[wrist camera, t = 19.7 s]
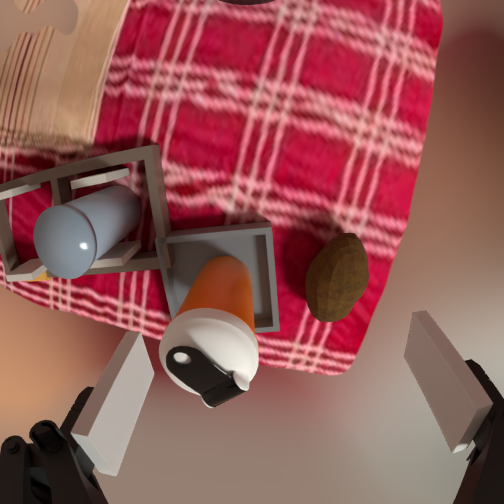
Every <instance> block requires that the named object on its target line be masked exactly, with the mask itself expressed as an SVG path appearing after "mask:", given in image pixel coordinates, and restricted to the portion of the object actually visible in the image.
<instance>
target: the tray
mask: <svg viewBox="0 0 504 504" xmlns="http://www.w3.org/2000/svg"><path fill="white" fill-rule="evenodd" d="M154 239H155V244H156V250H157V255H158V260H159V265H160V270H161V274H162V279H163V284H164V288H165V293H166V297H167V302H168V306H169V310H170V314H171V319H173V318H174V317H175V316H176V314H177V312H178V310H179V308H180V307H181V305H182V303H183V301H184V299H185V297H186V296H187V294H188V292H189V290H190V288H191V287H192V285H193V283H194V281H195V279H196V277H197V276H198V274H199V272H200V270H201V269H202V267H203V266H204V264H205V263H206V262H207V261H209V260H211V259H212V258H215V257H219V256H229V257H233V258H236V259H238V260H239V261H241V262H242V263H243V264H244V265H245V266H246V267H247V269H248V270H249V273H250V275H251V283H252V297H253V311H254V325H255V333H261V332H273V331H280V329H279V315H278V301H277V287H276V274H275V261H274V249H273V237H272V226H271V221H267V222H256V223H245V224H234V225H224V226H214V227H204V228H194V229H185V230H175V231H171V232H170V233H169V234H168V235H167V236H166V239H165V240H166V241H165V240H164V239H163V240H164V241H165V242H166V244H167V243H172V247H173V252H174V258H175V263H174V265H173V266H172V268H166V265H165V264H164V263H165V262H164V257H163V256H164V255H163V252H162V251H163V250H161V249H162V244H165V242H164V243H163V242H162V241H163V240H162V238H161V239H160V238H158V239H159V240H158V239H157V238H154ZM160 240H162V241H161V242H160ZM159 242H160V244H158V243H159ZM159 245H161V246H160V247H159ZM158 247H159V248H158ZM160 250H161V251H160ZM161 253H162V254H161ZM162 255H163V256H162ZM160 258H161V259H160ZM161 262H162V263H163V264H162V263H161ZM163 267H165V268H163Z"/></svg>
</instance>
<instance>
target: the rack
mask: <svg viewBox="0 0 504 504" xmlns="http://www.w3.org/2000/svg"><path fill="white" fill-rule="evenodd" d="M140 160H144V162H145V169H146V176H147V183H148V190H149V196H150V203H151V209H152V215H153V221H154V227H155V232H156V238H157V239H158V238H160V239H161V238H162V240H163V239H164V240H165V239H166V236H167V235H168V234H169V233H170V232H171V225H170V219H169V212H168V206H167V199H166V193H165V186H164V179H163V171H162V164H161V156H160V148H159V145H149V146H144V147H139V148H134V149H129V150H124V151H119V152H114V153H110V154H105V155H101V156H97V157H93V158H88V159H84V160H80V161H76V162H73V163H69V164H65V165H61V166H58V167H54V168H51V169H47V170H44V171H40V172H37V173H34V174H30V175H27V176H24V177H21V178H18V179H15V180H11V181H8V182H6V183H3V184H0V253H1V257H2V260H3V264H4V267H5V270H6V274H7V275H6V278H7V281H8V282H10V281H43V280H50V279H51V278H52V277H58V276H56V275H54V274H53V273H51V272H50V271H49V270H48V269H47V268H46V267H45V266H44V265H43V263H42V262H41V260H40V258H37V259H30V260H28V261H27V262H25V263H24V264H20V262H19V259H18V255H17V252H16V248H15V244H14V240H13V236H12V232H11V228H10V223H9V219H8V214H7V209H6V204H5V199H6V198H9V197H12V196H15V195H18V194H22V193H25V192H28V191H31V190H34V189H38V188H41V185H40V183H42V182H46V181H51V187H52V193H53V199H54V204H55V205H58V204H65V203H68V202H70V201H72V197H71V192H70V186H69V179H68V176H69V175H73V174H78V173H82V172H86V171H91V170H95V169H100V168H104V167H109V166H114V165H119V164H124V163H129V162H134V161H140ZM125 176H129V169H128V168H125V169H120V170H115V171H110V172H105V173H100V174H96V175H92V176H88V177H84V178H80V179H77V180H73V181H70V182H71V188H72V189H76V188H81V187H86V186H90V185H95V184H100V183H105V182H109V181H112V180H115V179H119V178H122V177H125ZM158 240H159V239H158ZM162 240H160V242H161V241H162ZM164 240H163V241H162V242H163V243H164V242H165V241H166V240H165V241H164ZM160 242H159V243H158V244H160ZM160 246H161V245H159V247H160ZM141 247H142V245H141V240H137V241H128V242H119V243H117V244H116V245H114V246H113V247H112V248H111V249H109V250H108V251H107V252H106V253H104V254H103V255H102V256H101V257H100V258H98V259H97V260H96V261H95V262H94V263H93V264H92V266H91V267H90V268H89V269H88V270H87V271H86V272H85V273H84V274H82V275H89V274H103V273H116V272H128V271H141V270H154V269H160V265H159V260H158V255H157V250H156V251H146V252H137V251H138V250H139V249H140V248H141ZM159 247H158V248H159ZM161 250H163V251H162V252H163V255H164V256H163V255H162V256H163V257H164V262H165V263H164V264H165V265H166V268H172V266H173V265H174V263H175V258H174V252H173V247H172V243H167V244H166V242H165V244H162V249H161ZM161 250H160V251H161ZM161 254H162V253H161ZM160 259H161V258H160ZM161 263H162V262H161ZM162 264H163V263H162ZM163 268H165V267H163Z"/></svg>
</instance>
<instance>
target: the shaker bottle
mask: <svg viewBox="0 0 504 504" xmlns="http://www.w3.org/2000/svg"><path fill="white" fill-rule="evenodd" d="M258 355H259V346H258V341H257V338H256V336H255V325H254V311H253V297H252V283H251V275H250V273H249V270H248V269H247V267H246V266H245V265H244V264H243V263H242V262H241V261H239V260H238V259H236V258H233V257H229V256H219V257H215V258H212V259H211V260H209V261H207V262H206V263H205V264H204V266H203V267H202V269H201V270H200V272H199V274H198V276H197V277H196V279H195V281H194V283H193V285H192V287H191V288H190V290H189V292H188V294H187V296H186V297H185V299H184V301H183V303H182V305H181V307H180V308H179V310H178V312H177V314H176V316H175V317H174V318H173V319H172V320H171V321H170V323H169V324H168V326H167V327H166V329H165V332H164V335H163V337H162V339H161V342H160V346H159V356H160V360H161V363H162V366H163V367H164V369H165V371H166V372H167V374H168V375H169V376H170V378H171V379H172V380H173V381H174V382H175V383H176V384H178V385H179V386H180V387H182V388H183V389H185V390H187V391H189V392H191V393H194V394H197V395H200V397H201V399H202V401H203V403H204V404H205V405H206V406H208V407H210V408H213V407H216V406H218V405H220V404H222V403H224V402H226V401H228V400H230V399H232V398H234V397H236V396H238V395H240V394H241V393H243V392H245V391H247V390H248V389H249V382H250V380H252V378H253V377H254V375H255V373H256V371H257V368H258Z"/></svg>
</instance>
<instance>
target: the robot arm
mask: <svg viewBox="0 0 504 504" xmlns="http://www.w3.org/2000/svg"><path fill="white" fill-rule="evenodd" d="M220 1H223V2H227V3H231V4H239V5H255V4H263V3H267V2H271V1H274V0H220ZM404 358H405V359H406V361H407V363H408V365H409V367H410V369H411V371H412V372H413V374H414V376H415V378H416V380H417V382H418V384H419V386H420V388H421V390H422V392H423V394H424V396H425V398H426V400H427V402H428V404H429V406H430V408H431V410H432V412H433V414H434V416H435V418H436V420H437V422H438V424H439V426H440V428H441V430H442V433H443V434H444V437H445V439H446V441H447V443H448V446H449V448H450V450H451V452H452V453H455V452H458V451H461V450H463V449H466V448H468V446H469V445H470V443H471V441H472V440H473V441H474V443H475V445H476V446H475V447H474V449H473V450H472V452H471V454H470V455H469V457H468V458H467V461H468V460H469V459H470V461H469V464H468V467H467V470H466V473H465V475H464V478H463V480H462V483H461V486H460V488H459V491H458V493H457V496H456V498H455V500H454V502H453V504H504V398H503V397H502V395H501V394H500V393H499V391H498V390H497V388H496V387H495V386H494V384H493V383H492V381H490V378H489V377H488V376H487V374H485V371H484V370H483V369H482V368H481V366H480V365H479V364H477V363H476V362H474V361H473V360H471V359H470V360H466V361H464V360H463V359H462V357H461V356H460V355H459V353H458V352H457V350H456V349H455V348H454V346H453V345H452V344H451V342H450V341H449V339H448V338H447V337H446V335H445V334H444V333H443V332H442V331H441V329H440V328H439V326H438V325H437V324H436V322H435V321H434V320H433V319H432V317H431V316H430V315H429V314H428V313H427V311H426V310H425V311H418V312H413V313H412V319H411V324H410V330H409V335H408V340H407V345H406V349H405V354H404ZM153 376H154V371H153V368H152V365H151V362H150V359H149V356H148V353H147V350H146V347H145V344H144V341H143V338H142V335H141V332H126V334H125V336H124V337H123V339H122V340H121V342H120V344H119V345H118V348H117V349H116V351H115V353H114V354H113V356H112V358H111V359H110V361H109V363H108V364H107V366H106V368H105V370H104V371H103V373H102V375H101V377H100V379H99V381H98V382H97V384H96V386H95V387H87V388H85V389H84V390H83V391H82V392H81V393H80V394H79V395H78V397H77V399H76V401H75V404H73V406H72V407H71V410H70V411H69V413H68V415H67V417H66V418H65V420H64V422H63V424H62V426H61V427H60V429H59V428H58V427H57V425H56V424H55V423H54V422H52V421H50V420H43V421H40V422H38V423H36V424H35V425H34V426H33V427H32V428H31V430H30V432H29V437H30V439H31V440H32V441H33V444H32V443H30V444H27V443H26V442H25V441H24V440H23V438H22V437H20V436H11V437H8V438H7V439H6V440H5V441H4V442H3V444H2V446H1V452H0V504H108V502H107V500H106V498H105V496H104V494H103V492H102V490H101V488H100V486H99V484H98V482H97V479H96V477H95V476H94V474H93V473H92V471H93V468H94V466H96V468H97V469H98V470H99V471H100V473H104V474H108V475H113V476H117V473H118V471H119V468H120V465H121V462H122V460H123V457H124V454H125V451H126V448H127V445H128V442H129V440H130V437H131V434H132V432H133V429H134V426H135V423H136V421H137V418H138V415H139V413H140V410H141V407H142V405H143V402H144V399H145V397H146V394H147V391H148V389H149V387H150V384H151V381H152V379H153Z"/></svg>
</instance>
